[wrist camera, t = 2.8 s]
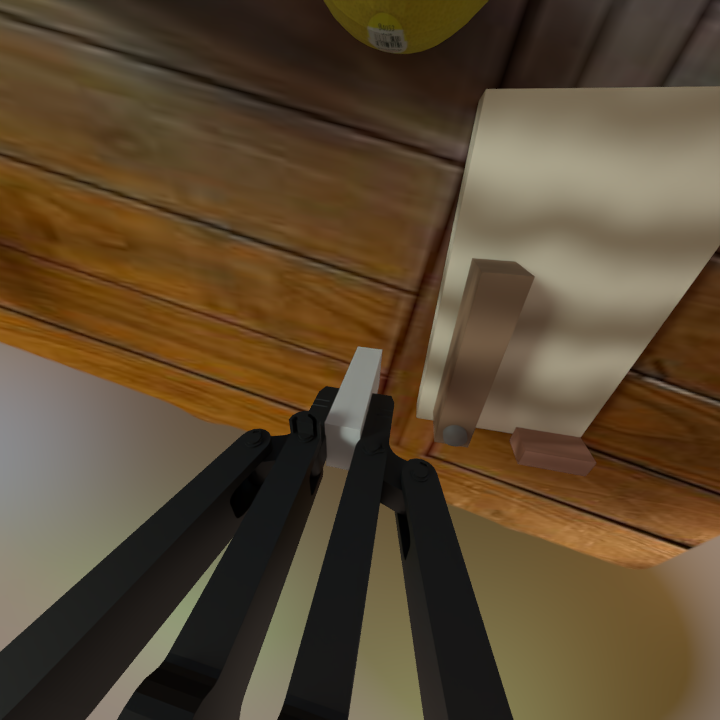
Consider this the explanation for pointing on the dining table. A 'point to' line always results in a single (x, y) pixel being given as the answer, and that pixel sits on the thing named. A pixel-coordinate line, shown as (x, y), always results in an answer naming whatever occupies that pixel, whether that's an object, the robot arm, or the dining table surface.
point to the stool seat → (579, 246)
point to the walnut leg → (478, 345)
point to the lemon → (403, 21)
